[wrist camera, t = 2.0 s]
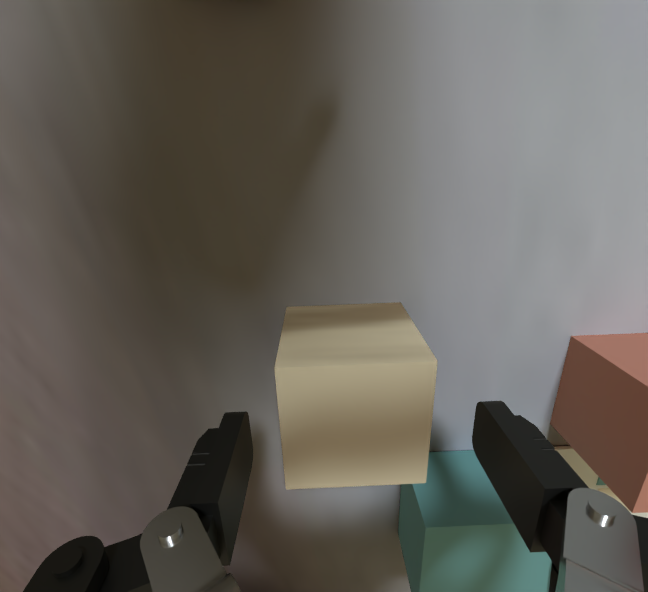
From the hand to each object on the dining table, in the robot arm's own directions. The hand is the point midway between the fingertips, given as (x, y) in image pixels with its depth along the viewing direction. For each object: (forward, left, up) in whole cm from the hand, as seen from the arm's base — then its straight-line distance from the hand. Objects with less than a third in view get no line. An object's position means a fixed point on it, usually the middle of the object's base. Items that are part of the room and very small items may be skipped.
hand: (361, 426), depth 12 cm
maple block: (0, 0, -4) cm, 4 cm away
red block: (+2, +13, -4) cm, 14 cm away
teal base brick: (+9, +6, -4) cm, 11 cm away
